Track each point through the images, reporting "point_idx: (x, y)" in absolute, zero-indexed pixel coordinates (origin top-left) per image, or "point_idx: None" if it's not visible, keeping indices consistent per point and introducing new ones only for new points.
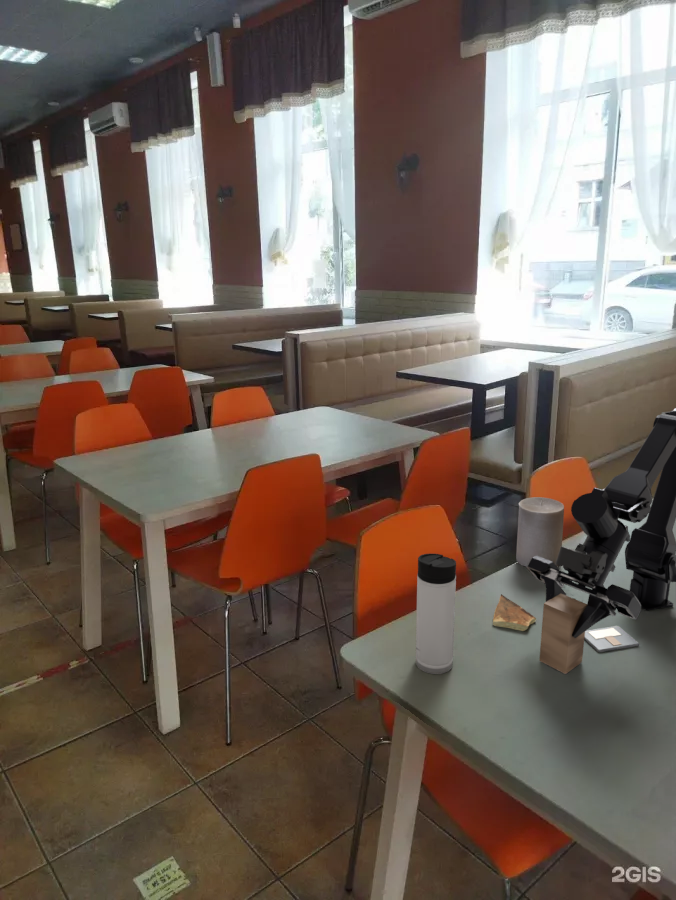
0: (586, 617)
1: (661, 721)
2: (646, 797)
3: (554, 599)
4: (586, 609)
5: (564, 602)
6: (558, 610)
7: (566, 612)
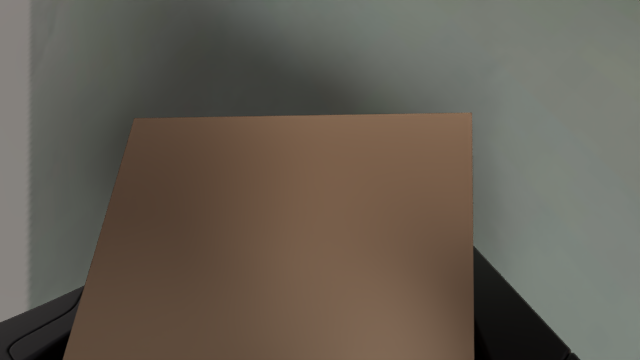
0: (78, 296)
1: (42, 228)
2: (59, 6)
3: (424, 310)
4: (30, 350)
5: (275, 325)
6: (267, 119)
7: (181, 127)
